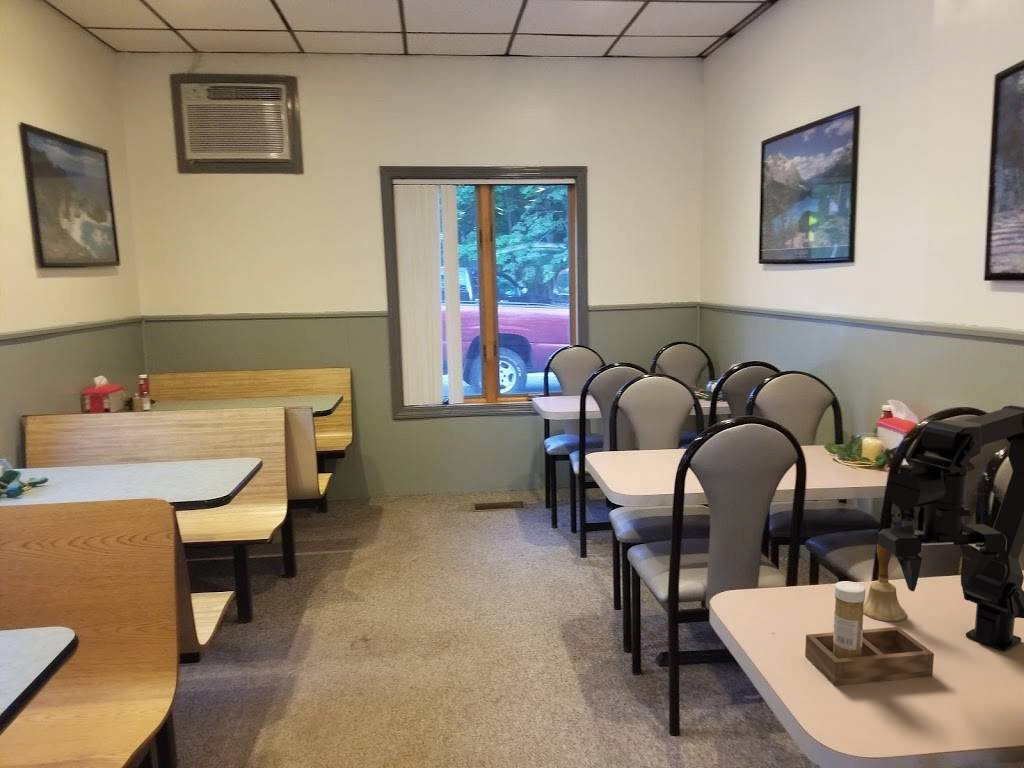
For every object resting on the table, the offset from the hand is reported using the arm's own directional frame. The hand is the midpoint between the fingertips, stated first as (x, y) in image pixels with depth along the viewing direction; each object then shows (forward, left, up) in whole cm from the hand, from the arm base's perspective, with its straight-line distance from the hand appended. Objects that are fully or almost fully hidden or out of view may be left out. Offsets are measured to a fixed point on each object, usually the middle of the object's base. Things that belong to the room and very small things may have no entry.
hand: (937, 588), depth 119 cm
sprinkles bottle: (+14, -7, -12) cm, 20 cm away
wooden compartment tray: (+10, -5, -13) cm, 17 cm away
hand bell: (-10, -15, -13) cm, 22 cm away
